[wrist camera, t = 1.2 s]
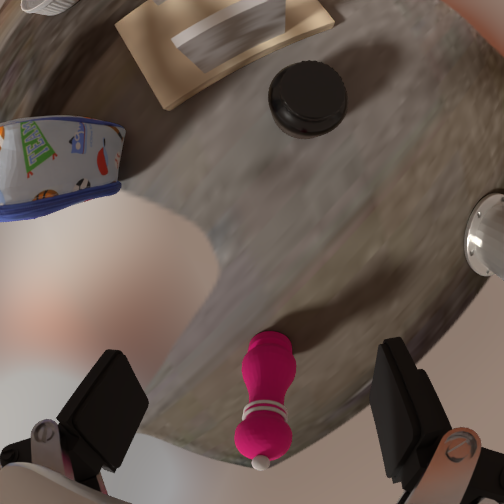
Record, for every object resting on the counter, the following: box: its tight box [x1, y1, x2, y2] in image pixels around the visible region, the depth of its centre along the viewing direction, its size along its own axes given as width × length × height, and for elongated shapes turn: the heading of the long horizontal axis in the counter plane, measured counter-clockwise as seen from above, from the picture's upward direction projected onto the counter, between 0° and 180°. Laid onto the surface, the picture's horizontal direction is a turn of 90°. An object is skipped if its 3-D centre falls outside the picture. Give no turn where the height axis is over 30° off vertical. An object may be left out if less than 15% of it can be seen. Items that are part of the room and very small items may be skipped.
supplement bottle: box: [268, 60, 348, 139], centre depth 22 cm, size 7×7×12 cm
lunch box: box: [0, 115, 126, 222], centre depth 22 cm, size 28×10×22 cm, turn 81°
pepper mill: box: [234, 331, 296, 471], centre depth 30 cm, size 7×7×20 cm
